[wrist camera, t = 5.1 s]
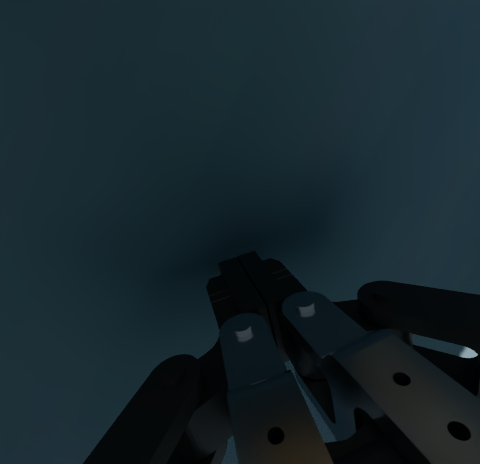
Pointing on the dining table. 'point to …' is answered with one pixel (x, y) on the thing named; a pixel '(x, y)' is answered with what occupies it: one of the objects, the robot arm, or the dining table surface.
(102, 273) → the dining table surface
